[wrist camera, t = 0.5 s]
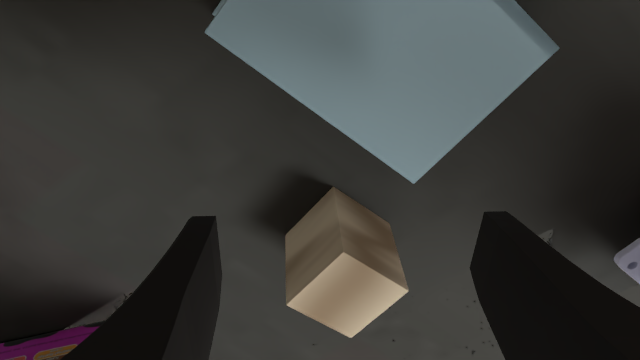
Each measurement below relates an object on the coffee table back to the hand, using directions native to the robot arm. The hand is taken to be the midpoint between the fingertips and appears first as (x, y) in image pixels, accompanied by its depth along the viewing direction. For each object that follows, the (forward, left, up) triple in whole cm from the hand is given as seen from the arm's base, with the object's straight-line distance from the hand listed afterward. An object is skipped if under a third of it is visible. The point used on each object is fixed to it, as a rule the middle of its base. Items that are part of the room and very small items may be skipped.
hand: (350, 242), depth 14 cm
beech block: (-6, +6, -11) cm, 14 cm away
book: (0, -4, -11) cm, 12 cm away
